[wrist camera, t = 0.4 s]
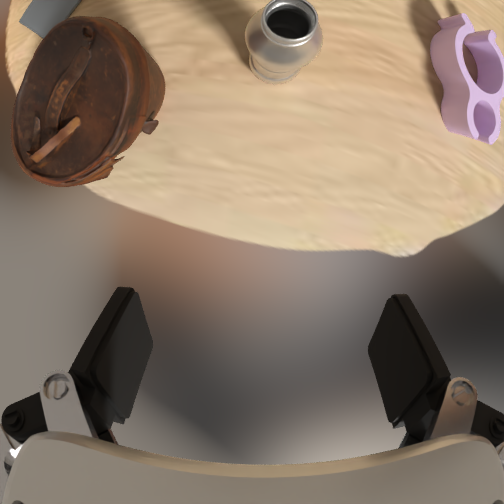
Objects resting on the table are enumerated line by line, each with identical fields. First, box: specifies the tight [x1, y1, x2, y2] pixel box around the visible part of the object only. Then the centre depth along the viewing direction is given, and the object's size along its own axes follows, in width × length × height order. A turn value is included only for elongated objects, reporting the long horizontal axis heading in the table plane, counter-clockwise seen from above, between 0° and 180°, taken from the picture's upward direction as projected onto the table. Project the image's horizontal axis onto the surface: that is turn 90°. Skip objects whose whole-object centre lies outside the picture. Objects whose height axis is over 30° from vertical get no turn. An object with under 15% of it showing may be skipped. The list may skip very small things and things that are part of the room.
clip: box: [430, 13, 504, 145], centre depth 24 cm, size 20×12×7 cm, turn 1°
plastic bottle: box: [245, 0, 323, 84], centre depth 21 cm, size 6×7×20 cm
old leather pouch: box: [11, 16, 165, 187], centre depth 24 cm, size 18×20×18 cm
